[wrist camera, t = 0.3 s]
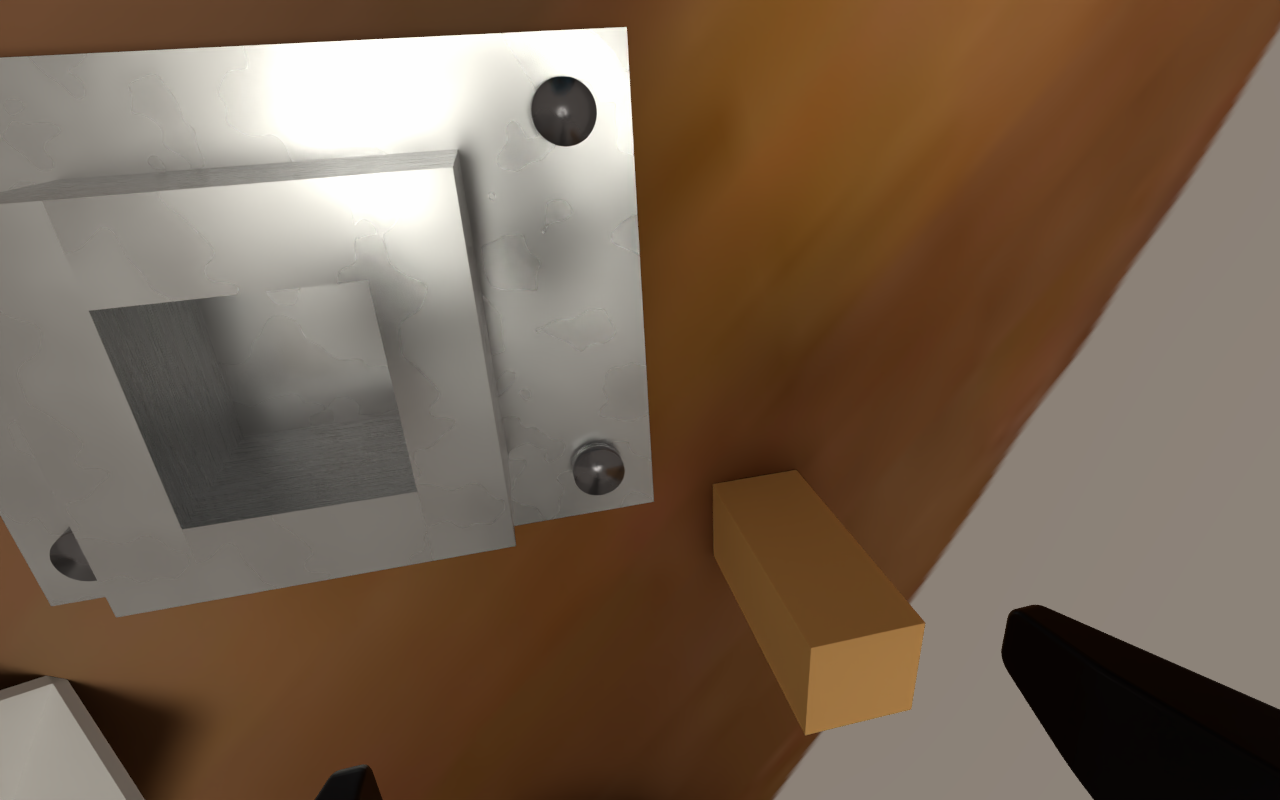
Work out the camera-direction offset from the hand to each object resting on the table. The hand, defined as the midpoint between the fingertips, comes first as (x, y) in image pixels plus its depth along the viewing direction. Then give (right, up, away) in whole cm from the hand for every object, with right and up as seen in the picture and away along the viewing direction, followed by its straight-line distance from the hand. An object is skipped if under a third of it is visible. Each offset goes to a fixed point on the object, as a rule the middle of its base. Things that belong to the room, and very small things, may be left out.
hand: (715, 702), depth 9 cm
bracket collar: (-10, +6, +10) cm, 15 cm away
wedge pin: (+3, 0, +16) cm, 16 cm away
